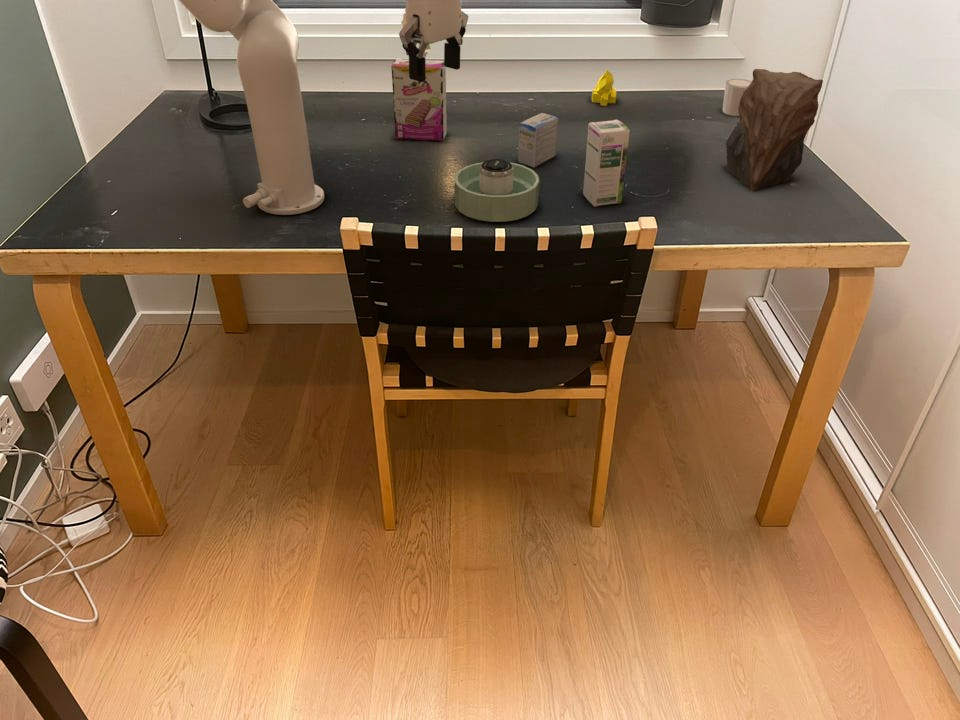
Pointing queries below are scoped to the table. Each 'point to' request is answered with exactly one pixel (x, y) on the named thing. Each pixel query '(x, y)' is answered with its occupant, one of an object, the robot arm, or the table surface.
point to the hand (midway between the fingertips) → (435, 73)
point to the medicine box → (537, 139)
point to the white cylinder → (734, 95)
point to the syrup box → (605, 162)
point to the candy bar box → (419, 102)
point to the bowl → (496, 205)
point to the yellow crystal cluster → (604, 90)
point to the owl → (772, 127)
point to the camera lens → (496, 177)
